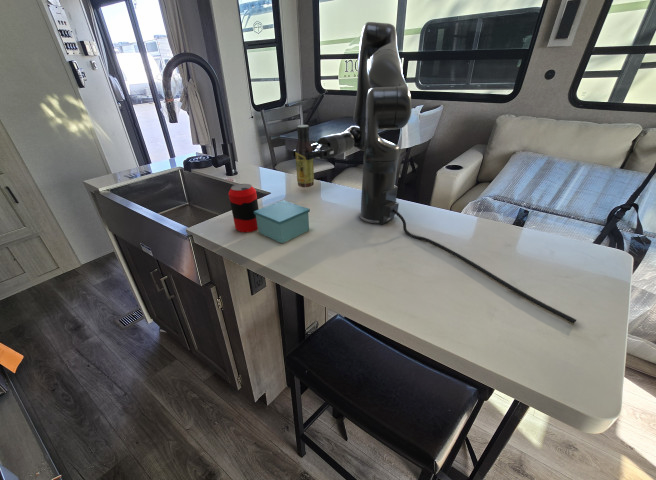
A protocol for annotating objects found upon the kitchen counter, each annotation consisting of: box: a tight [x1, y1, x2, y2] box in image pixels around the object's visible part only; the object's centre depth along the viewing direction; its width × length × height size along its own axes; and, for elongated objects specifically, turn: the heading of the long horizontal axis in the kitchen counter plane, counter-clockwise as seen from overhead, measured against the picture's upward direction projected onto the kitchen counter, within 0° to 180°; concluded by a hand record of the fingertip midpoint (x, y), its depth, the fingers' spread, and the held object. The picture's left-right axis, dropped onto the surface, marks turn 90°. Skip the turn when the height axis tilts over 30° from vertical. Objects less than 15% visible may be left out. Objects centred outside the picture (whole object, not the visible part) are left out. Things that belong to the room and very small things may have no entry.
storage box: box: [254, 199, 311, 244], centre depth 87 cm, size 11×11×6 cm
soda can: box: [228, 183, 260, 234], centre depth 89 cm, size 8×8×12 cm
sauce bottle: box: [295, 124, 315, 189], centre depth 109 cm, size 7×6×20 cm
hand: (299, 155), depth 107 cm, fingers closed on sauce bottle, 6 cm apart
